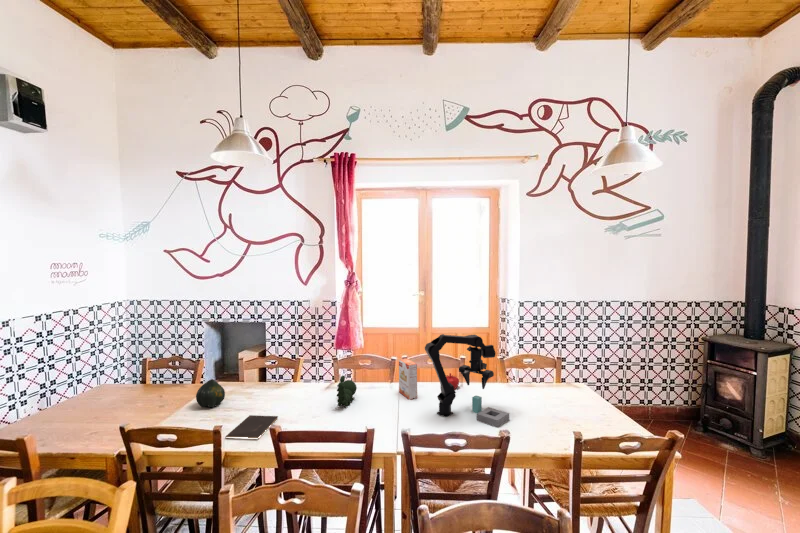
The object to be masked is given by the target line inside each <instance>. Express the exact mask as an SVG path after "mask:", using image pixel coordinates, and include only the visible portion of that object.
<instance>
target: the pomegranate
mask: <svg viewBox="0 0 800 533" xmlns="http://www.w3.org/2000/svg"><path fill="white" fill-rule="evenodd" d="M446 378H447V380H448V383H449V382H450V383H451V384H452V385H453V386H454V390H455V389H457V388H458V386H459V383H460V379H459V378H458V377H457V376H455V375H454V374H452V373H450V372H449V375H446Z"/></svg>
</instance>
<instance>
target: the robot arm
mask: <svg viewBox="0 0 800 533" xmlns="http://www.w3.org/2000/svg"><path fill="white" fill-rule="evenodd" d="M446 344H460V345H468V347H467V348H466V350H467V351H468V352H470V360H469V362H468V363H470V365H466V364H463V365H461V366H459V368H458V372H460V374H461V375H462V376H463V378H464V380H465V383H466V385H467V386H470V380H471V379H470V377H471V376H470V374H471V373H474V374H478V375H481V376H482V377H481V387H482V390H485V388H486V385H487V382H488V380H490V379H491V378H492V377H494V376H495V374H494V371H493V370H490V369H487V367H488V365H487V363H486V362H484V361H483V360H482V358H483V359H491V358H493V359H494V358H495V357H496V351H495V348H494V346H495V345H493V344H489V345H486V344H484V340H483V338H482V337H481V336H479V335H476V334H468V335H464V336H463V335H453V334H451V335H450V334H443V333H442V334H439V336H437V337H435V338H434V339H433V340H431V341H430V342H427V343H426V344H425V346H424V350H425V352H426V354H427V356H428V357H429V359H430V360H431V362H432V365H433V368H434V370H435V372H436V376H437V378H438V381H439V383H440V393H439V394H438V395H437V399H438V401H439V403H438V411H437V412H436V414H437V415H439V416H442V417H444V418H447V417H449V416H451V415H453V414H454V412H453V411H452V405H453V401H454V400H455V399H456V396H457V395H456V393H457V391H456V390H455V389H454V386H453V385H452V384H451V383H450V382H449V383H448V380H447V378H446V376H447V375H446V372H445V370H444V367H443V365H442V362H441V359H440V358H441V357H440V356H441V355H440V354H441V353H440V351H441V350H442V349H443V347H444V346H445V345H446Z"/></svg>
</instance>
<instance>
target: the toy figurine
mask: <svg viewBox="0 0 800 533" xmlns="http://www.w3.org/2000/svg"><path fill="white" fill-rule="evenodd" d="M345 379H346V377H345V375H341V376H340V378H339V383H338V384H337V385H336V386H337V389H336V392H337V393H336V397H337V400H336V402H337V406H338V407H341V406H342V405H344V407H348V406H350V405H351V403H352V402H353V401H354V398H353V397H354V395H355V394H356V392H357V389H358V388H357V384H356V383H355V381H353V380H352V379H347V380H345ZM341 404H342V405H341Z"/></svg>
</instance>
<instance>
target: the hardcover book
mask: <svg viewBox="0 0 800 533" xmlns="http://www.w3.org/2000/svg"><path fill="white" fill-rule="evenodd" d="M278 418H279V416H278V415H253V414H252V415H248V416H247V417H246V418H245V419H244V420H243V421H242V422H240V423H239V424H238V425H236V427H235V428H233V429H232V430H231V431H230V432H229V433H228V434H226V435H225V438H226V437H248V438H258V437H259V436H260V435H262V434H263V433H264V432H265V430H267V429H268V430H269V429H270V428H269V426H270V425H272V426H273V425H274V424H275V423H276V422H277V421H278V420H279V419H278ZM276 420H277V421H276ZM275 421H276V422H275ZM273 423H274V424H273ZM268 430H267V431H268ZM265 433H266V432H265ZM265 433H264V434H265ZM264 434H263V435H264ZM263 435H262V436H263Z"/></svg>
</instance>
